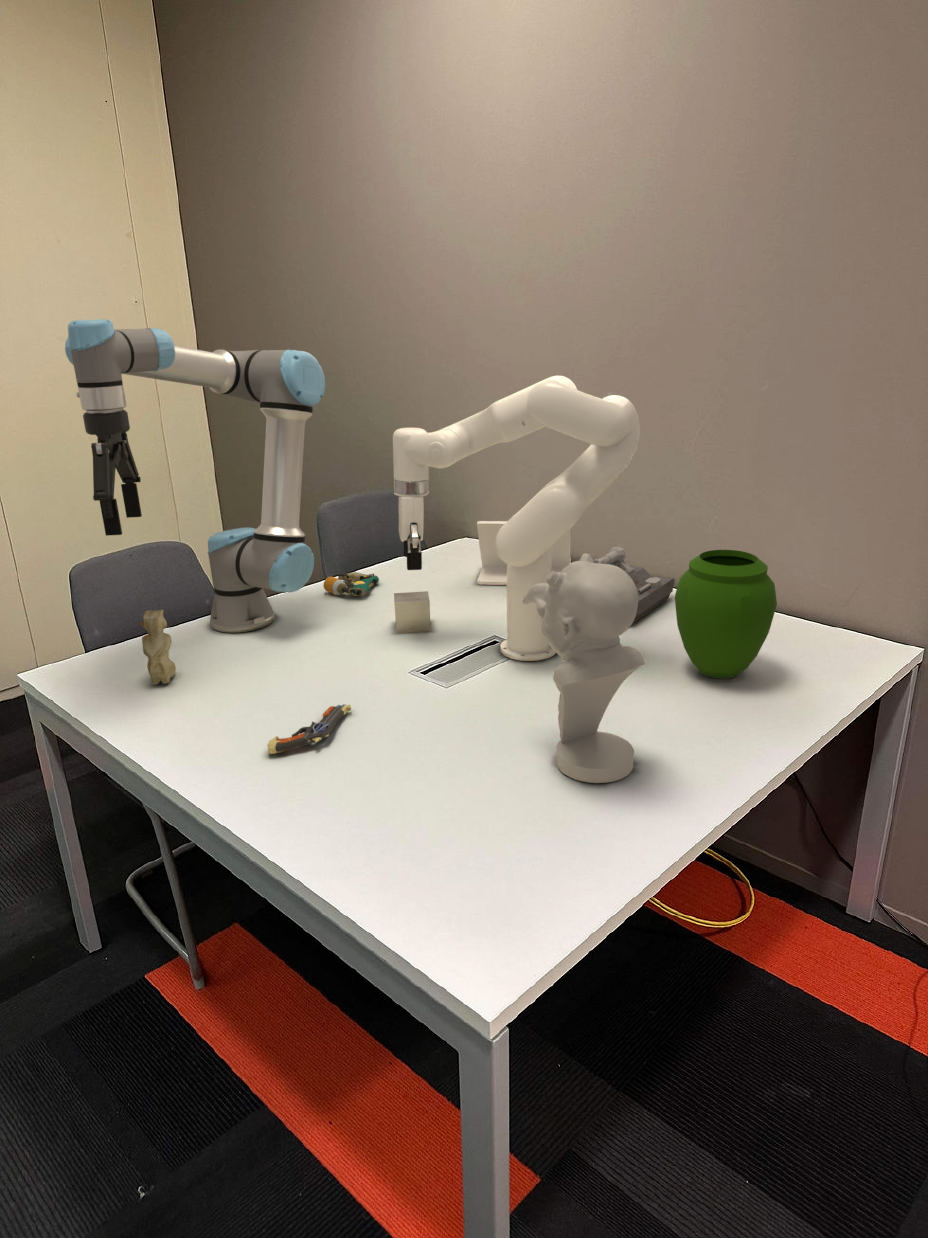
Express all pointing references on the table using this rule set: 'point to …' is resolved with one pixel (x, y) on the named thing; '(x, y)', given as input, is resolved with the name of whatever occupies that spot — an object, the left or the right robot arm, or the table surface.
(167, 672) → the sculpture
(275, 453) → the left robot arm
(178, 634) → the table surface
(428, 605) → the block
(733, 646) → the vase
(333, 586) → the spray gun
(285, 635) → the table surface
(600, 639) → the bust sculpture
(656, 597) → the toy
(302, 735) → the toy gun
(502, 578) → the tablet stand
